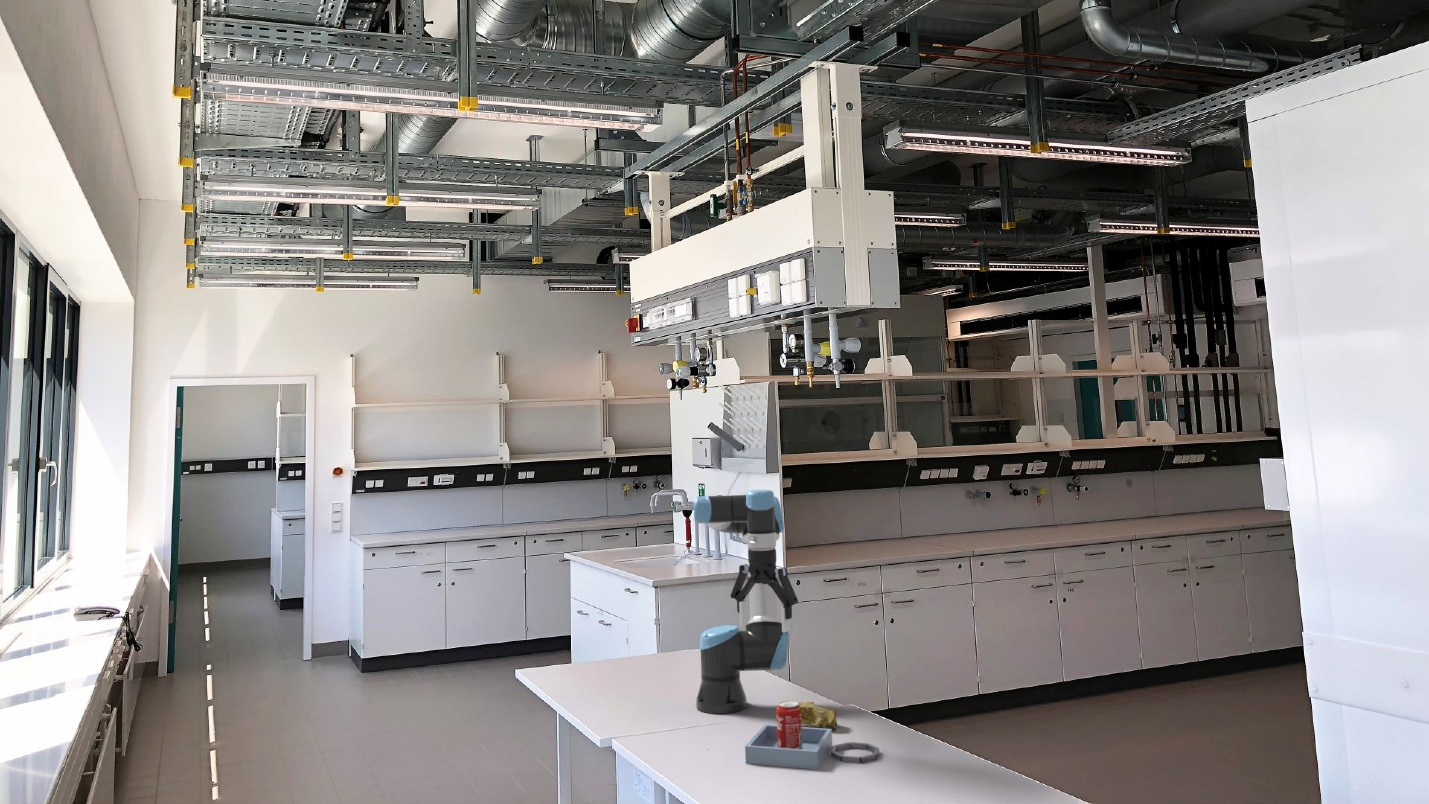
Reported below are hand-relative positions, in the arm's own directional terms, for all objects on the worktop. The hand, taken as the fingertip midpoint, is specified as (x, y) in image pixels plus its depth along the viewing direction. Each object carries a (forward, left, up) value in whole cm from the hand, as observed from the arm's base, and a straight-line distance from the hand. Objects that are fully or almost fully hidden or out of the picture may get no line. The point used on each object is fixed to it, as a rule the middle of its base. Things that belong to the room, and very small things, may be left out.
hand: (764, 628), depth 247 cm
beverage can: (+10, +8, -29) cm, 32 cm away
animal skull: (-14, +9, -30) cm, 34 cm away
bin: (+10, +8, -29) cm, 32 cm away
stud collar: (+7, +24, -29) cm, 39 cm away
